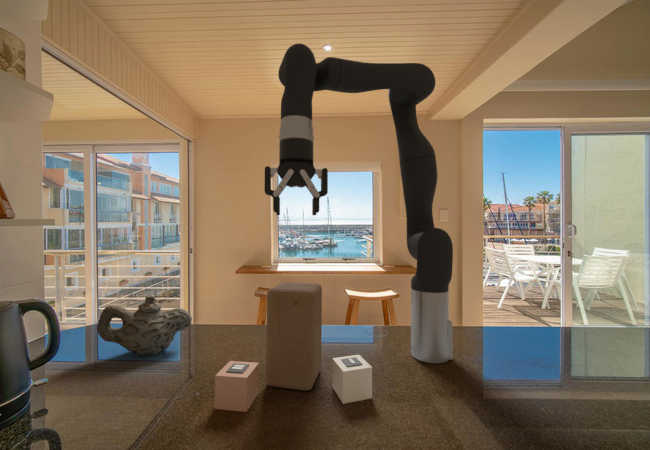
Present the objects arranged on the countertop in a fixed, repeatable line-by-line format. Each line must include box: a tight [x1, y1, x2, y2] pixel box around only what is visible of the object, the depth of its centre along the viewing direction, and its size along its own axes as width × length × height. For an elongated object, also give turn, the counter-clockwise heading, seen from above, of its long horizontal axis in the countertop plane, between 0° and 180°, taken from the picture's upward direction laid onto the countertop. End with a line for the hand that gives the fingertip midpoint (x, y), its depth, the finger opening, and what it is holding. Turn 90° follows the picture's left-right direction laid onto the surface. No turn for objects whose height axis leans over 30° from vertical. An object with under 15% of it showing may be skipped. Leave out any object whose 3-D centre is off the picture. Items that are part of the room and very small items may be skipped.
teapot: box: [96, 295, 193, 356], centre depth 75 cm, size 21×12×15 cm, turn 115°
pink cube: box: [214, 360, 260, 413], centre depth 54 cm, size 6×6×6 cm
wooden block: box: [265, 281, 323, 392], centre depth 63 cm, size 10×10×20 cm
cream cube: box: [331, 354, 373, 405], centre depth 57 cm, size 6×6×6 cm
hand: (296, 214), depth 64 cm, fingers open, 7 cm apart
